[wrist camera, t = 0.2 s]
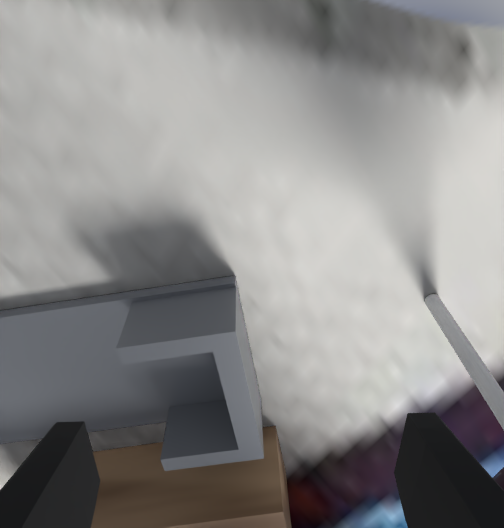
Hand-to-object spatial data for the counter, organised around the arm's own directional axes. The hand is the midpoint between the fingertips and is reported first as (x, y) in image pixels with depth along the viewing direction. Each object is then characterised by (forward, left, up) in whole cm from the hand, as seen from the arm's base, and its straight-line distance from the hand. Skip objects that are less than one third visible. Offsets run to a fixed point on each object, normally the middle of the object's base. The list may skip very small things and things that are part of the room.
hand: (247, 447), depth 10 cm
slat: (-13, +7, -10) cm, 18 cm away
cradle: (-5, +10, -10) cm, 15 cm away
